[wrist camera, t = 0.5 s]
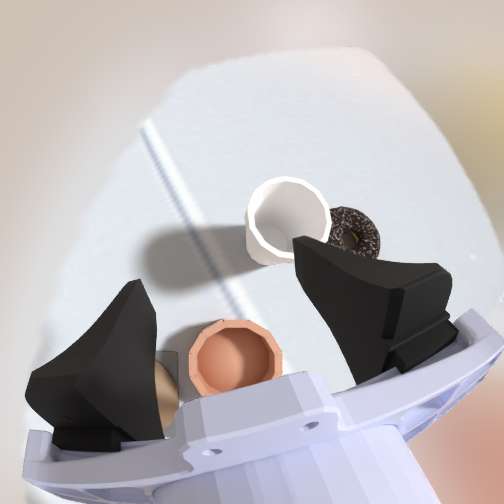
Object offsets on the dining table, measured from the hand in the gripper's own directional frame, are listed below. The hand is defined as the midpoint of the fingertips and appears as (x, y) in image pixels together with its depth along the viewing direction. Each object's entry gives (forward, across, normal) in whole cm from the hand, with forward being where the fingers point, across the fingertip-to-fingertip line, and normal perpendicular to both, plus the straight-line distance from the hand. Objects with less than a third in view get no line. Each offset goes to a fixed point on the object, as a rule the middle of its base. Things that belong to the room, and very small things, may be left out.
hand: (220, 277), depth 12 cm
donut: (+25, -20, +16) cm, 36 cm away
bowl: (+15, +2, +24) cm, 29 cm away
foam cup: (+26, -8, +13) cm, 30 cm away
